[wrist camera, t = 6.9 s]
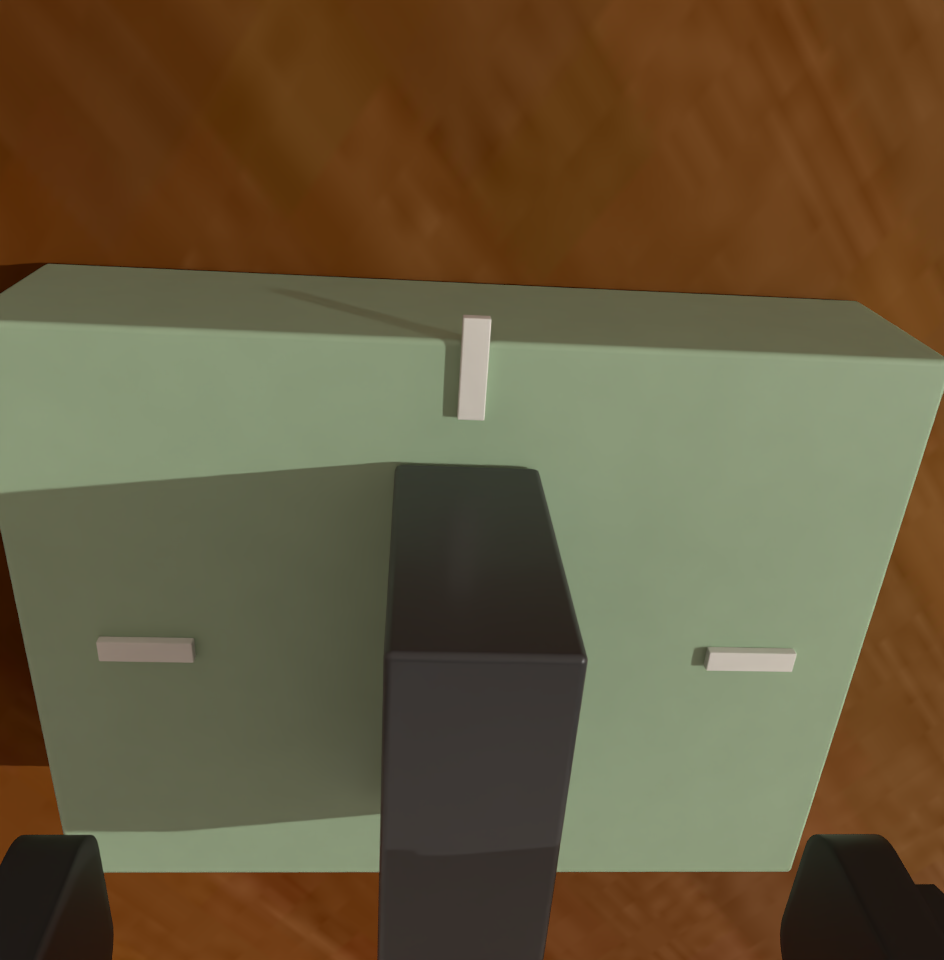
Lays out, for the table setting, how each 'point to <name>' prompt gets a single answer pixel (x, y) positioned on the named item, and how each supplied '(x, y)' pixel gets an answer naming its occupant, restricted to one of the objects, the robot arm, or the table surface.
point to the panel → (367, 533)
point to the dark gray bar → (474, 716)
